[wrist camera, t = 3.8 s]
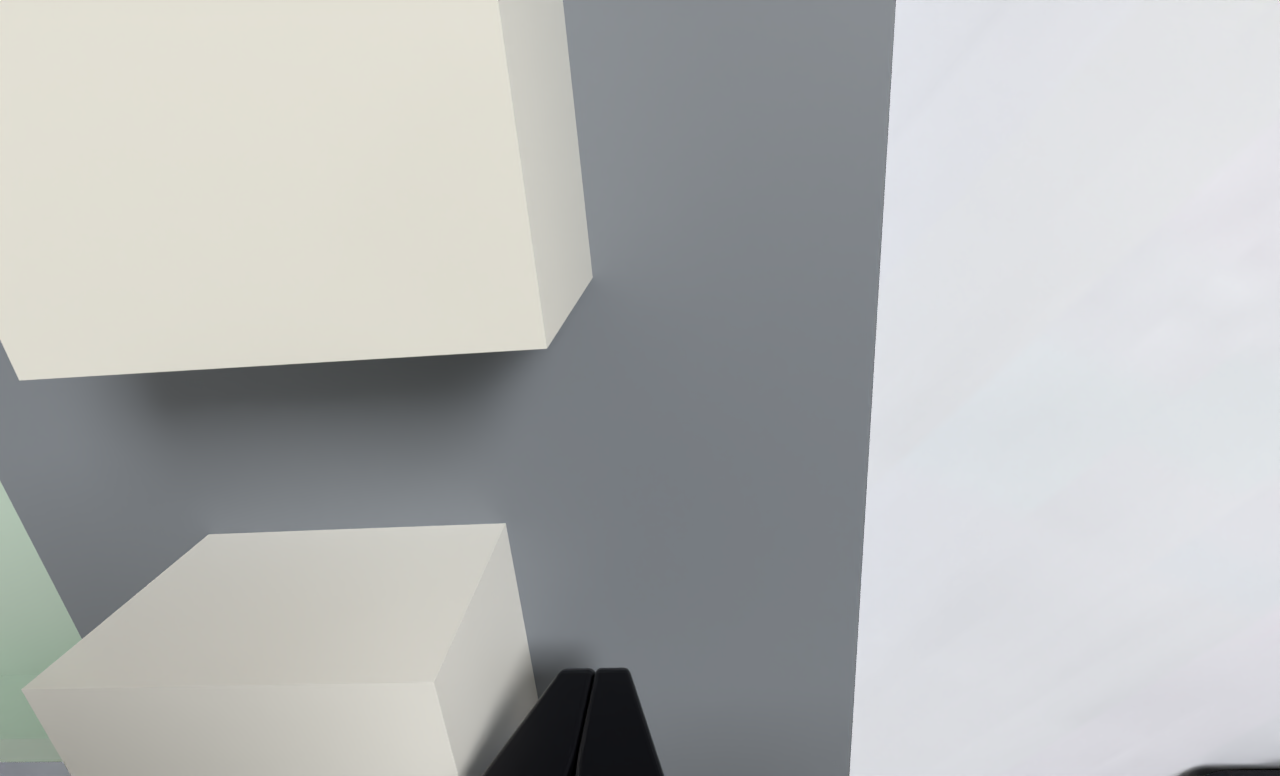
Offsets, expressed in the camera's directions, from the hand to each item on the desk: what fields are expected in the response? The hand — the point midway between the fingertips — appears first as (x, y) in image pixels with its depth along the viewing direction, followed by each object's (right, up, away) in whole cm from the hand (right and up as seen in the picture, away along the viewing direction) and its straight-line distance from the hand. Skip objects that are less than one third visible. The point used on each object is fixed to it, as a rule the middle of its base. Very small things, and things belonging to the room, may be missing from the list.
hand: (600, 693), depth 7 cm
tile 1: (-2, +7, -1) cm, 7 cm away
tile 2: (-3, 0, +1) cm, 3 cm away
